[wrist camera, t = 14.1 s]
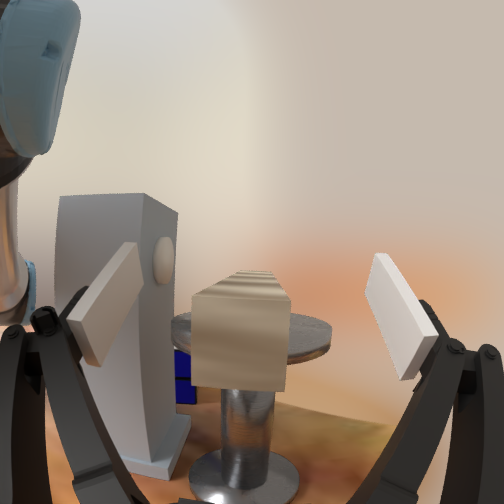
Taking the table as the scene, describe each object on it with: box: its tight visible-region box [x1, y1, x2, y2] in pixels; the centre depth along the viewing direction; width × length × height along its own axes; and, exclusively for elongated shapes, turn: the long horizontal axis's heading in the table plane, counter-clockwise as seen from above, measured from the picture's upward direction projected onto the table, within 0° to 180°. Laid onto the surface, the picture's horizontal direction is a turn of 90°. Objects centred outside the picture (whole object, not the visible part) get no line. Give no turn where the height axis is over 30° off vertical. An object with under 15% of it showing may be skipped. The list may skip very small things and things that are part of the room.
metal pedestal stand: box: [171, 312, 332, 504], centre depth 26 cm, size 14×14×19 cm
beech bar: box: [191, 271, 291, 392], centre depth 26 cm, size 28×4×4 cm, turn 178°
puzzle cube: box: [174, 346, 197, 404], centre depth 48 cm, size 10×10×10 cm
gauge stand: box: [54, 193, 191, 481], centre depth 31 cm, size 13×14×30 cm
